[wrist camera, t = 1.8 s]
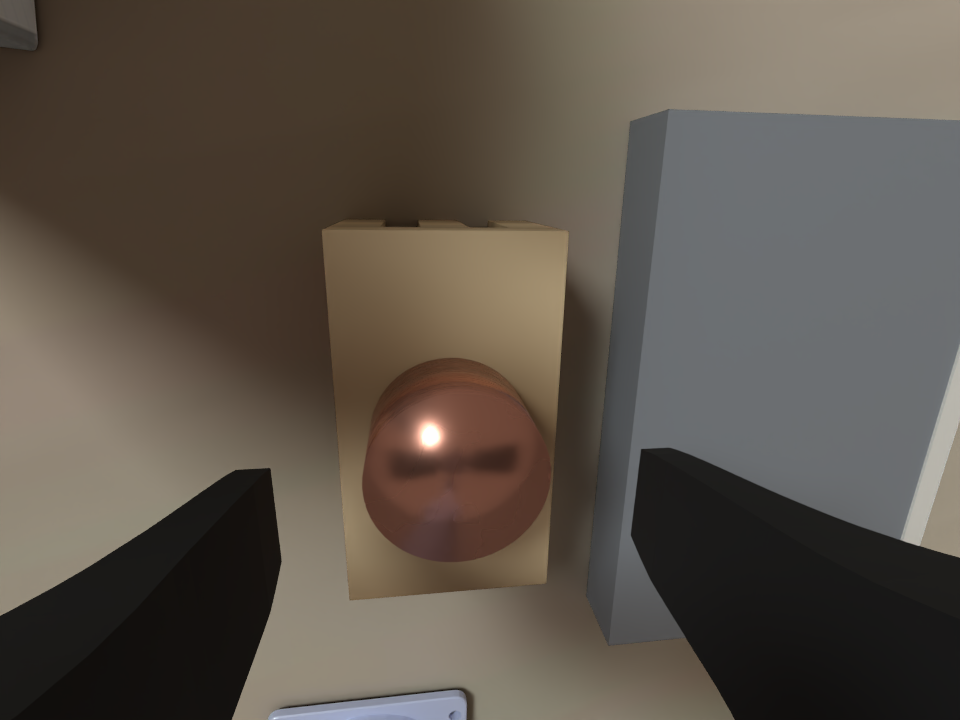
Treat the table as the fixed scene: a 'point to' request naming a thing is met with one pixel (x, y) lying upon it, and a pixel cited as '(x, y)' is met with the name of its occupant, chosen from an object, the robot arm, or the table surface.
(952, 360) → the loading dock
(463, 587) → the tan rectangular block
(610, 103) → the table surface
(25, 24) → the hard drive box
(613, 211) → the table surface
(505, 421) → the brown rounded piece
